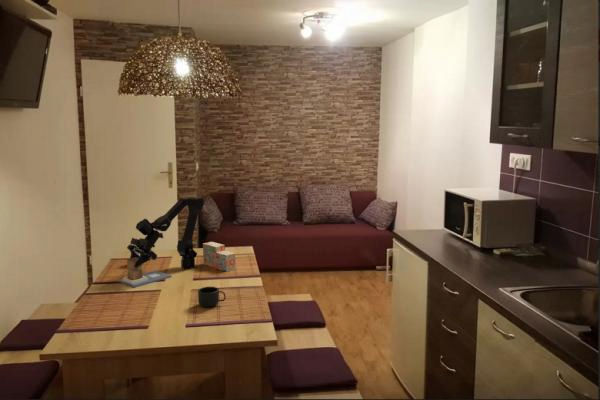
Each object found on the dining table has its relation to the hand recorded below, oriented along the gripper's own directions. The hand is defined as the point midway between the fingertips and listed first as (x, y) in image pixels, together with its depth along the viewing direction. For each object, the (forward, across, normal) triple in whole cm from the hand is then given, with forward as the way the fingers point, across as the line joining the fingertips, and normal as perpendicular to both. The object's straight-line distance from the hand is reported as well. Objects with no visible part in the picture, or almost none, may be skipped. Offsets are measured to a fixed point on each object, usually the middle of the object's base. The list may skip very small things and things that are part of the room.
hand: (132, 266), depth 253 cm
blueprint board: (+1, 0, +11) cm, 11 cm away
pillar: (+4, 0, +6) cm, 7 cm away
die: (-7, -25, +20) cm, 33 cm away
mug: (+3, +54, +10) cm, 55 cm away
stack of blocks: (-26, +12, +39) cm, 49 cm away
